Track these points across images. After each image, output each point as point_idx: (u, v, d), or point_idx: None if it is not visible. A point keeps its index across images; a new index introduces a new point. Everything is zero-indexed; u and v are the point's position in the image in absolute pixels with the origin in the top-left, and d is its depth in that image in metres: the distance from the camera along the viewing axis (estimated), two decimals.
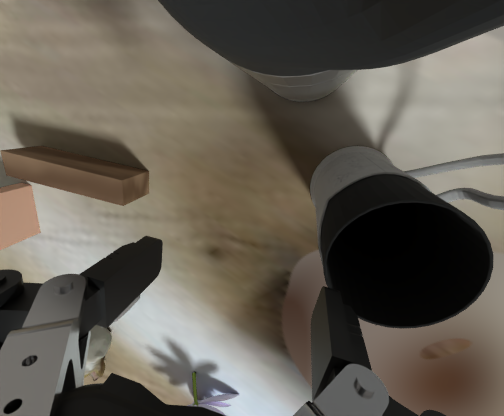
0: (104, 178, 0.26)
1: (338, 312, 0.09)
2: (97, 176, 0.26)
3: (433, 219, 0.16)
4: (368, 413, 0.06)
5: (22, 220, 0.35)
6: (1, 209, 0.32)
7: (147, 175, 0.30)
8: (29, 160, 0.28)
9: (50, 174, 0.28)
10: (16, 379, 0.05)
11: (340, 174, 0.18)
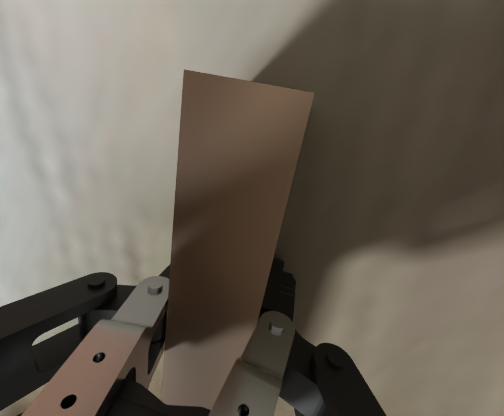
0: None
1: (275, 276, 0.10)
2: None
3: None
4: (272, 342, 0.07)
5: None
6: None
7: None
8: (261, 248, 0.07)
9: (213, 309, 0.08)
10: (82, 373, 0.05)
11: None
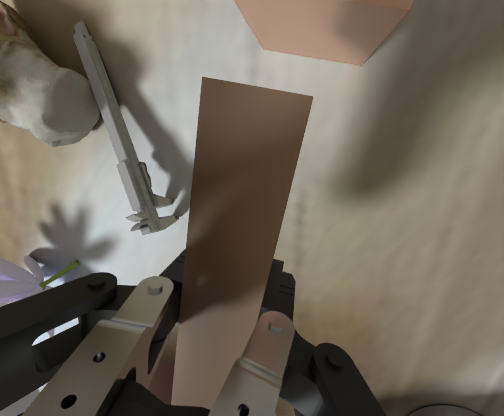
0: None
1: (275, 276, 0.10)
2: None
3: None
4: (271, 342, 0.07)
5: (299, 48, 0.18)
6: (338, 45, 0.15)
7: None
8: (266, 231, 0.08)
9: (223, 287, 0.09)
10: (82, 372, 0.05)
11: None
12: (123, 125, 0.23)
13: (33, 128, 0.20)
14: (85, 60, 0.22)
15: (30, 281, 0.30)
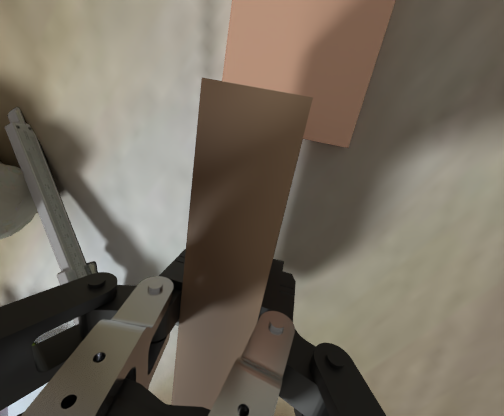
0: None
1: (275, 276, 0.10)
2: None
3: None
4: (271, 342, 0.07)
5: None
6: (330, 57, 0.13)
7: None
8: (266, 232, 0.08)
9: (223, 288, 0.09)
10: (83, 372, 0.05)
11: None
12: (66, 224, 0.20)
13: None
14: (19, 155, 0.19)
15: None
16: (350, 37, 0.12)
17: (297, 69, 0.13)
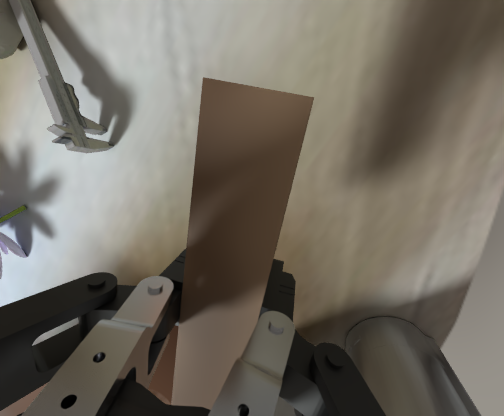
0: None
1: (275, 276, 0.10)
2: None
3: None
4: (271, 342, 0.07)
5: None
6: None
7: None
8: (267, 232, 0.08)
9: (224, 288, 0.09)
10: (82, 372, 0.05)
11: None
12: (46, 44, 0.24)
13: None
14: None
15: None
16: None
17: None
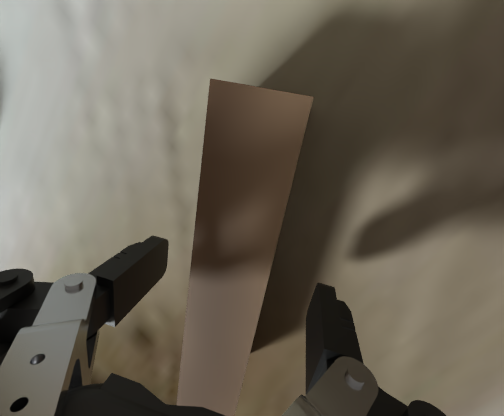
0: (231, 408, 0.12)
1: (332, 307, 0.09)
2: (233, 395, 0.11)
3: None
4: (357, 403, 0.06)
5: None
6: None
7: None
8: (270, 224, 0.08)
9: (228, 278, 0.09)
10: (24, 377, 0.05)
11: None
12: None
13: None
14: None
15: None
16: None
17: None
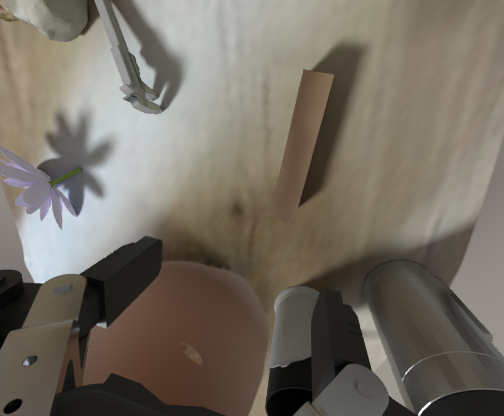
0: (296, 205, 0.28)
1: (338, 312, 0.09)
2: (298, 198, 0.28)
3: None
4: (368, 413, 0.06)
5: None
6: None
7: None
8: (318, 117, 0.25)
9: (302, 140, 0.26)
10: (16, 379, 0.05)
11: None
12: (115, 20, 0.28)
13: (33, 10, 0.25)
14: None
15: (40, 176, 0.34)
16: None
17: None
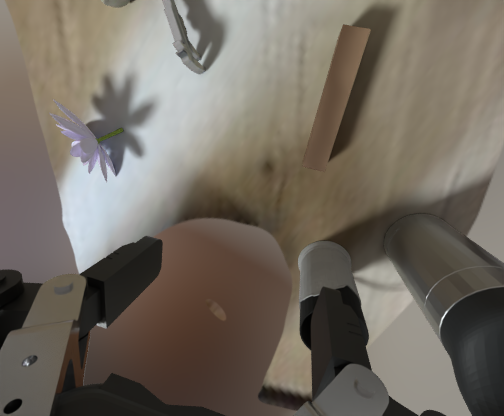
0: (328, 155, 0.31)
1: (338, 312, 0.09)
2: (330, 147, 0.31)
3: None
4: (368, 413, 0.06)
5: None
6: None
7: None
8: (354, 69, 0.27)
9: (337, 92, 0.29)
10: (16, 379, 0.05)
11: (352, 280, 0.33)
12: None
13: None
14: None
15: (89, 132, 0.38)
16: None
17: None
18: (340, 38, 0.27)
